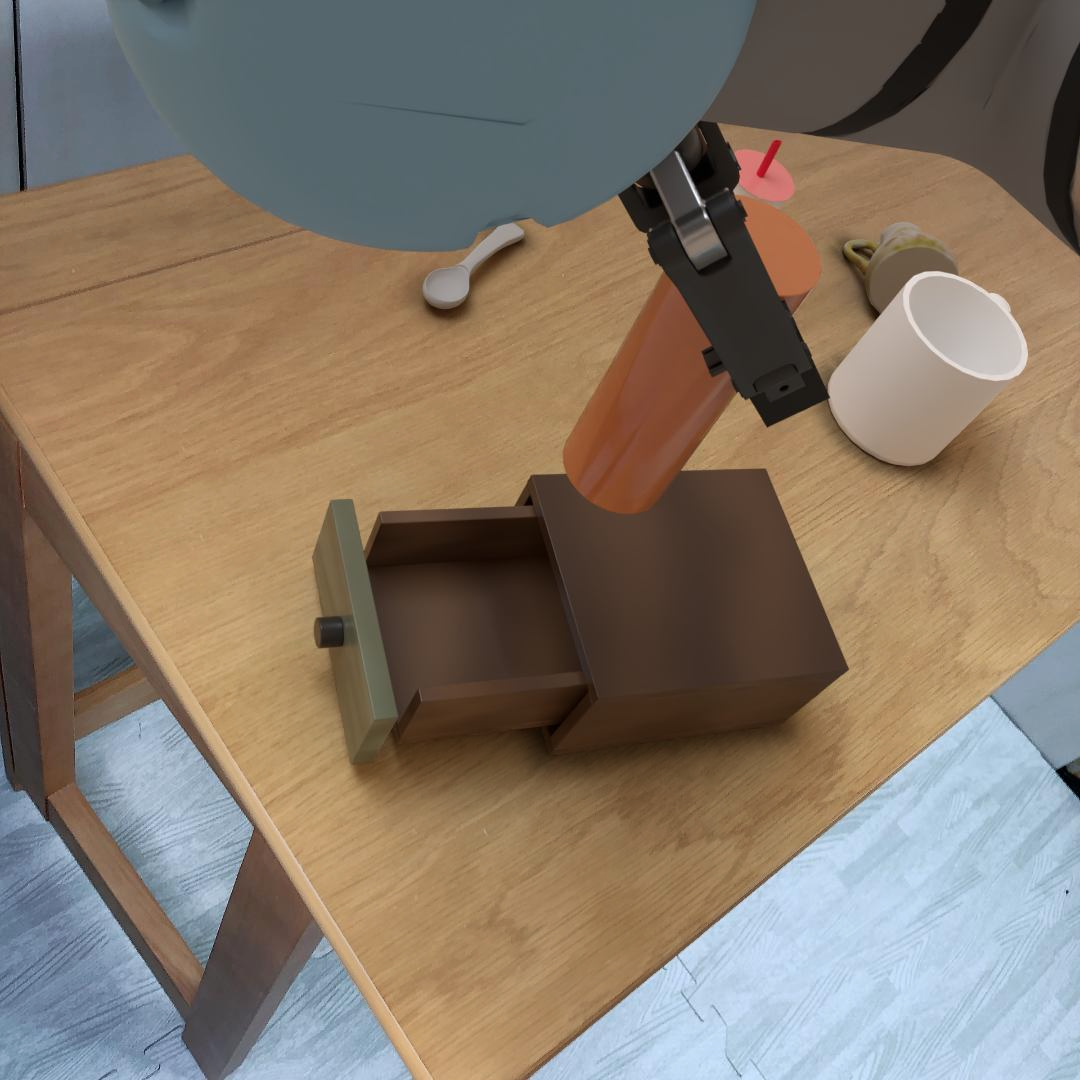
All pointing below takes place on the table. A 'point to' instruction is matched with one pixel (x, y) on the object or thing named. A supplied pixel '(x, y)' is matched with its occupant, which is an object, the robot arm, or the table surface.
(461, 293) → the spoon
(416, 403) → the table surface
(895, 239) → the mug
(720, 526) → the cabinet
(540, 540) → the drawer
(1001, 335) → the mug
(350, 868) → the table surface
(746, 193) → the cup
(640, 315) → the orange cylindrical post
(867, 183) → the table surface
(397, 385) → the table surface
